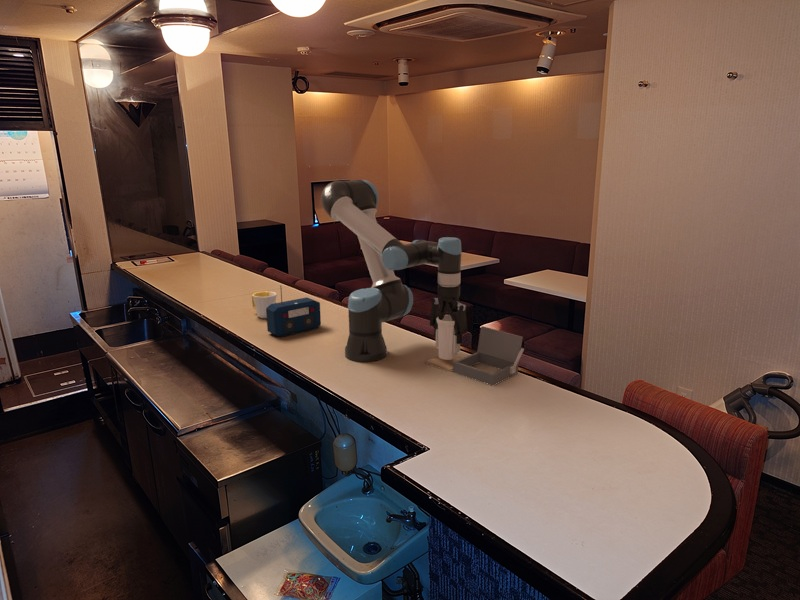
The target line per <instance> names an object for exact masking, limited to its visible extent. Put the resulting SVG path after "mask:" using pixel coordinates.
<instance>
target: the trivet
mask: <svg viewBox="0 0 800 600" xmlns="http://www.w3.org/2000/svg"><path fill="white" fill-rule="evenodd" d="M462 358H463V357H462ZM462 358H461V357H458V356H457V357H456V358H455V359H452V360H444V359H441V358H439V357H438V356H435V357H433V358H430V359H428V360H426V361H425V360H424V363H425V364H426V365H430V366H432V367H436V368H439V369H440V370H444V371H447V372H453V362H455V361H457V360H460V359H462Z"/></svg>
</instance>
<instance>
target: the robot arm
mask: <svg viewBox="0 0 800 600" xmlns="http://www.w3.org/2000/svg"><path fill="white" fill-rule="evenodd" d="M379 197H380V196H379V192H378V189H377V188H376V186H375V185H374V184H373V183H372V182H371V181H368V180H366V179H353V180H352V179H351V180H350V179H349V180H334V181H332V182H331V181H330V182H329V183H328V184H327V185H326V186H324V187H323V190H322V192H321V195H320V204H321V206H322V209H323V210H324V212H325V213H326V215H328V216H329V217H330V218H331V219H332V220H334V221H335V222H340V223H341V224H343V225H344V226H346V227H347V228H348V229H349V230H350V231H351V232H353V234H355V235H356V236H357V239H358V242H359V245H360V248H361V250H362V254H363V256H364V260H365V263H366V266H367V269H368V271H369V275H370V278H371V281H372V285H371V287H366V288H360V289H357V290H354V291H352V292H351V293H350V294H349V296H348V303H347V309H348V310H347V311H348V333H349V334H348V337H347V340H346V341H347V342H346V346H345V348H344V355H345V358H346V359H348V360H351V361H355V362H362V363H363V362H364V363H365V362H367V363H368V362H375V361H379V360H382V359H384V358H385V357H386V356H387V355H388V348H387V345H386V342H385V339H384V335H383V333H382V332H383V329H382V328H383V327H382V325H383V324H384V323H385V322H388V321H393V320H395V319H400V318H402V317H404V316H406V315H408V314H409V313H410V311H411V310H412V307H413V306H414V305H413V304H414V294H413V292H412V290H411V288H410V287H408V286H407V285H405V284H403V283H402V280H401V278H400V277H398V276H397V275H395V271H400V270H404V269H407V268H412V267H416V266H421V265H427V264H428V265H435V266H437V284H438V285H437V297H433V298H431V299H430V302H431V309H430V310H431V311H430V318H429V326H431V327H433V329H434V338H435V348H437V349H438V323H437V320H436V318H437V317H439V319H440V320H442V319H443V318H444V316H445V315H446V313H448V315H450V316H451V318H452V321H455V325H454V329H455V333H456V334H454V343H453V353H457V354H458V353H460V352H461V344H462V343H463V335H465V334H467V333H468V323H467V307H468V306H467V305H468V304H467V303H464V304H463V303H461V301H460V296H461V274H462V273H461V271H462V270H461V265H462V263H461V262H462V252H463V251H462V241H461V239H460V238H458V237H449V236H445V237H440V238H439V239H438V242H435V241H429V240H424V239H414V240H413V241H411V243H408V244H406V243H405V244H404V243H402V242H401V241H400V240H399V239H398V238H396V237H395V236H393V235H392V233H390V232H389V231H387V230H386V229H385V228H384V227H382V226H381V225H380V224H379V223H378V221H377V218H376V214H377V212H378V210H377V206H378V204H379V200H380V198H379ZM382 323H383V324H382Z"/></svg>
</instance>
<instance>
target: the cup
mask: <svg viewBox="0 0 800 600" xmlns="http://www.w3.org/2000/svg"><path fill="white" fill-rule="evenodd" d="M436 320H437V323H438V348H437V349H438V351H437V352H438V356H437V357H439V358H441V359H444V360H452V359H455V358H456V357H458V356H457V354H458V352H457V353H453V343H454V334H456V333H455V329H454V325H455V321H452V318H451V316H450V314H445V316H444V318H443V319H442V320H440V319H439V317H437V318H436Z"/></svg>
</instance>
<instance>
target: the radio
mask: <svg viewBox="0 0 800 600" xmlns="http://www.w3.org/2000/svg"><path fill="white" fill-rule="evenodd" d="M279 287H280V299H281V300H280V301H281V302H276V303H274V304H271V305H269V306H268V307H267V308H266V315H267V318H266V326H267V332H269V333H270V334H272V335H275V336H276V337H279V338H283V337H287V336H291V335H296V334H300V333H304V331H305V332H308V330H309V331H313V330H317V329H318V328H319V327H320V326H321V325H322V322H321V321H322V320H321V303H320V302H319V301H318V300H315V299H312V298H309V297H302V298H296V299H291V300H285V301H283V294H282V293H283V292H282V284H280V285H279ZM316 328H317V329H316ZM312 329H313V330H312Z"/></svg>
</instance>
